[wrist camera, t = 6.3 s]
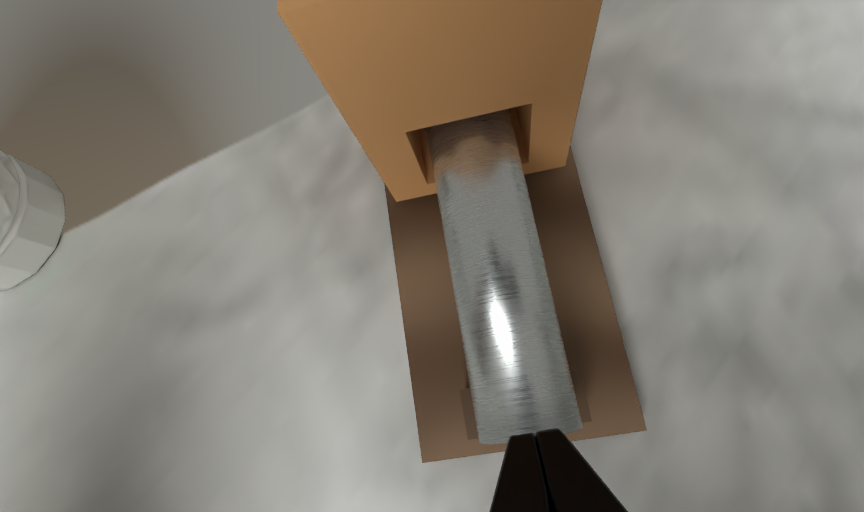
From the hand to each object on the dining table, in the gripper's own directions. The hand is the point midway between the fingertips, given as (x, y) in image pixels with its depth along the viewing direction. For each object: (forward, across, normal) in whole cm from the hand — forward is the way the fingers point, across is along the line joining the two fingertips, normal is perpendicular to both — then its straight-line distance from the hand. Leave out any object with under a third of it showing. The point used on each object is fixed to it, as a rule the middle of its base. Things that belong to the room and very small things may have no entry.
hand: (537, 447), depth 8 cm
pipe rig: (+13, 0, +2) cm, 13 cm away
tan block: (+15, 0, -2) cm, 15 cm away
